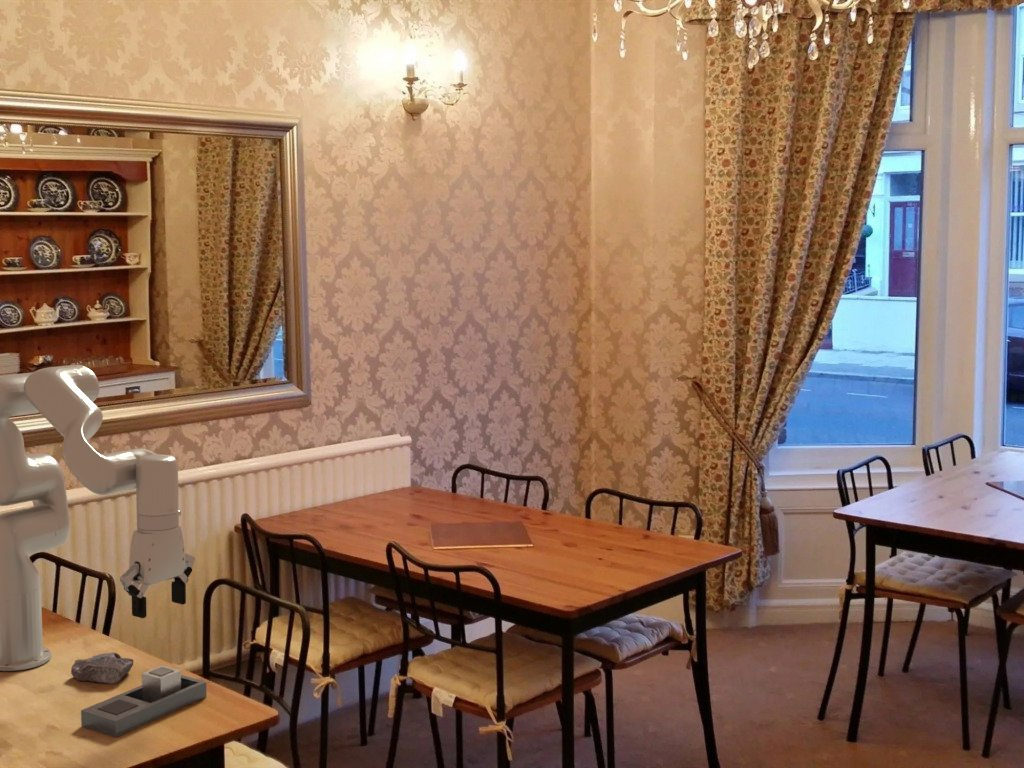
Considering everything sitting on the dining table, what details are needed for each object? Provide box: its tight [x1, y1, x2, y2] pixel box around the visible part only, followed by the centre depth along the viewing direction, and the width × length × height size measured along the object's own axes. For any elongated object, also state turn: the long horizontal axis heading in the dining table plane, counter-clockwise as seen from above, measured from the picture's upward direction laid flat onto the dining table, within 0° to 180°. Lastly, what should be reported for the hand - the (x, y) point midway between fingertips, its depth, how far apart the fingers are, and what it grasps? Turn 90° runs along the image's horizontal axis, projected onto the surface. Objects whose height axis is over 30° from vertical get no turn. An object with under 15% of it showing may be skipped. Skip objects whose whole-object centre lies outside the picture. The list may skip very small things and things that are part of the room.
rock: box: [70, 652, 134, 685], centre depth 235 cm, size 8×11×5 cm
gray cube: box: [141, 665, 182, 703], centre depth 222 cm, size 5×5×6 cm
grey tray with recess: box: [80, 674, 207, 738], centre depth 219 cm, size 9×22×3 cm, turn 150°
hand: (159, 609), depth 221 cm, fingers open, 9 cm apart
